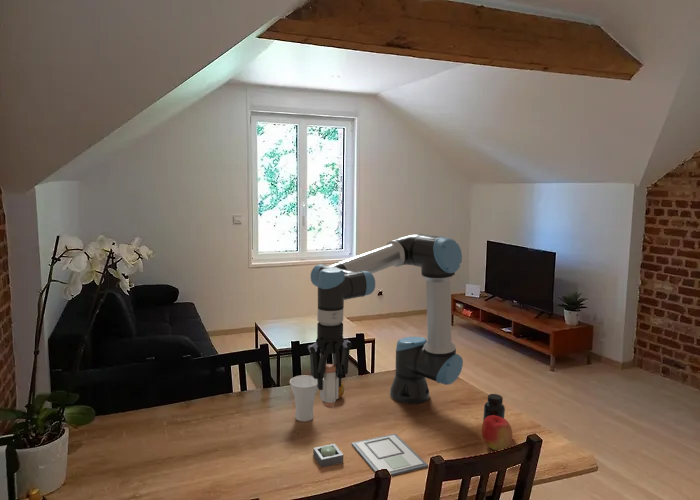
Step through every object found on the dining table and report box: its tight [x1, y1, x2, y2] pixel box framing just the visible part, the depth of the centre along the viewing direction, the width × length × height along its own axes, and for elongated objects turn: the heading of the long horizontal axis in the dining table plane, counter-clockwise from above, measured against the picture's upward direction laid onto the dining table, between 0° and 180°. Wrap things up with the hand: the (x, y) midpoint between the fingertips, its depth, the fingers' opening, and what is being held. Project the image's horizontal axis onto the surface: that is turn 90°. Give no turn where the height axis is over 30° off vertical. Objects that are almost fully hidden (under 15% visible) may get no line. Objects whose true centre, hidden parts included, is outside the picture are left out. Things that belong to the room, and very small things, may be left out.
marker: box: [324, 363, 337, 408], centre depth 154 cm, size 4×4×12 cm
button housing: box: [312, 443, 344, 468], centre depth 158 cm, size 7×7×2 cm
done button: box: [321, 445, 336, 457], centre depth 157 cm, size 4×4×3 cm
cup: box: [289, 374, 318, 422], centre depth 183 cm, size 10×10×14 cm
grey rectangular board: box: [350, 433, 429, 477], centre depth 160 cm, size 20×16×1 cm
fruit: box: [337, 381, 345, 400], centre depth 200 cm, size 8×8×8 cm
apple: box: [481, 415, 513, 451], centre depth 165 cm, size 10×10×10 cm
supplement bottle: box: [482, 393, 506, 422], centre depth 177 cm, size 7×7×12 cm
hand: (329, 398), depth 155 cm, fingers closed on marker, 3 cm apart
